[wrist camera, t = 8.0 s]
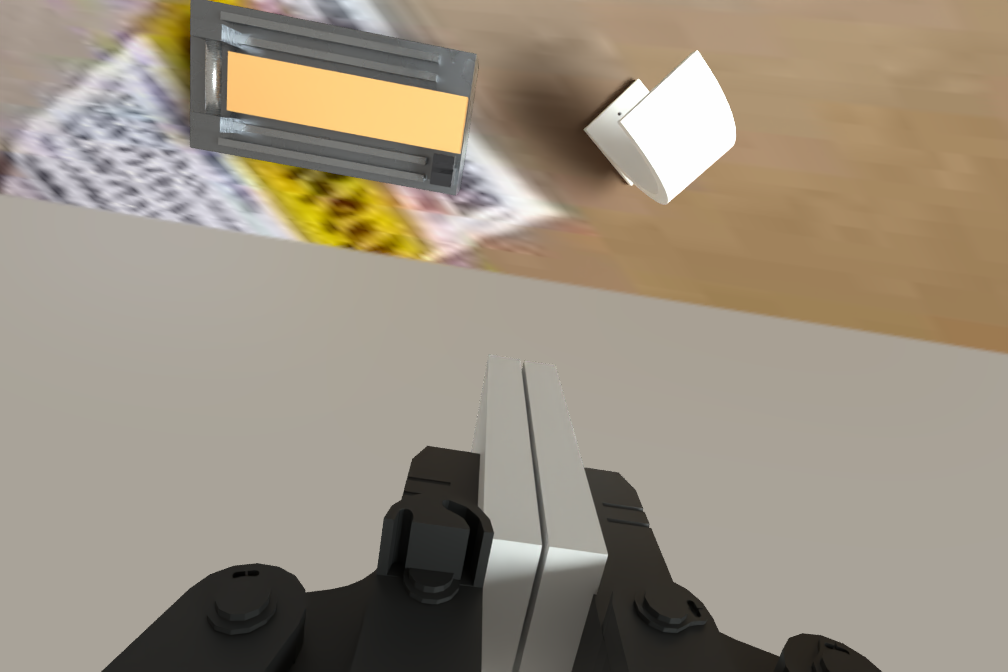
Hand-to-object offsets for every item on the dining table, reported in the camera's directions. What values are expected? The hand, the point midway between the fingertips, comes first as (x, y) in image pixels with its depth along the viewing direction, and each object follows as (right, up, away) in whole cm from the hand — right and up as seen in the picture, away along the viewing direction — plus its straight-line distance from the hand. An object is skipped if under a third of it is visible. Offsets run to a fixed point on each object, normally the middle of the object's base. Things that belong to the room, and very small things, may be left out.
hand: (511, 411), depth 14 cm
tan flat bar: (-9, +15, +18) cm, 25 cm away
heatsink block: (-10, +17, +24) cm, 31 cm away
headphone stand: (+9, +15, +25) cm, 31 cm away
